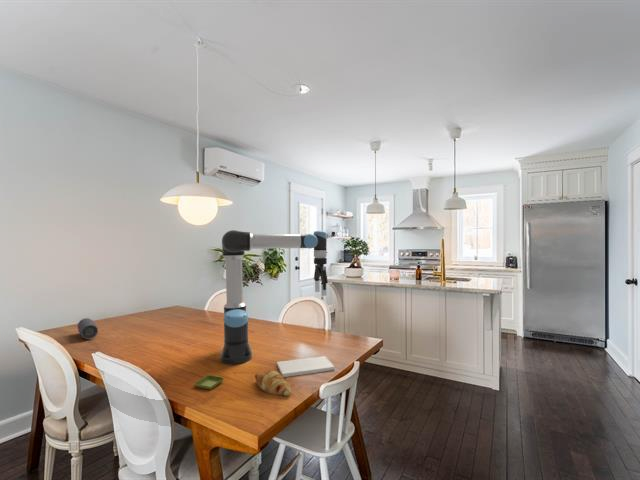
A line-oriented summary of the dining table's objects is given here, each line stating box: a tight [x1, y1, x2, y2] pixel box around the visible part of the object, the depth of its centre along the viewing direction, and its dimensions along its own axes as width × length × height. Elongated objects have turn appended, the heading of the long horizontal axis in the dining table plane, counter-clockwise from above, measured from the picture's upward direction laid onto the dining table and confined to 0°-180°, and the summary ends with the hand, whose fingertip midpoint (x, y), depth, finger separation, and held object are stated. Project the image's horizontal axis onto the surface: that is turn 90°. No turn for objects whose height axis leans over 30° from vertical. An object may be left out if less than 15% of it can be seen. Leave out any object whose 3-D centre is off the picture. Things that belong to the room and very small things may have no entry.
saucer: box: [193, 374, 225, 390], centre depth 131 cm, size 9×9×2 cm
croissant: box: [254, 369, 292, 396], centre depth 127 cm, size 21×10×8 cm, turn 50°
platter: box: [276, 355, 336, 378], centre depth 148 cm, size 24×14×2 cm, turn 107°
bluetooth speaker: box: [77, 317, 99, 340], centre depth 199 cm, size 23×9×10 cm, turn 42°
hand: (320, 293), depth 186 cm, fingers open, 13 cm apart
